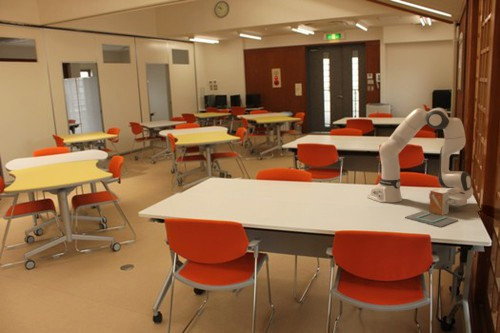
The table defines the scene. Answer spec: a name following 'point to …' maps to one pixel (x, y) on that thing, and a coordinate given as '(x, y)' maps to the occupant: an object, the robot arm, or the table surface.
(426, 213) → the plate
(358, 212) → the table surface
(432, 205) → the small box
